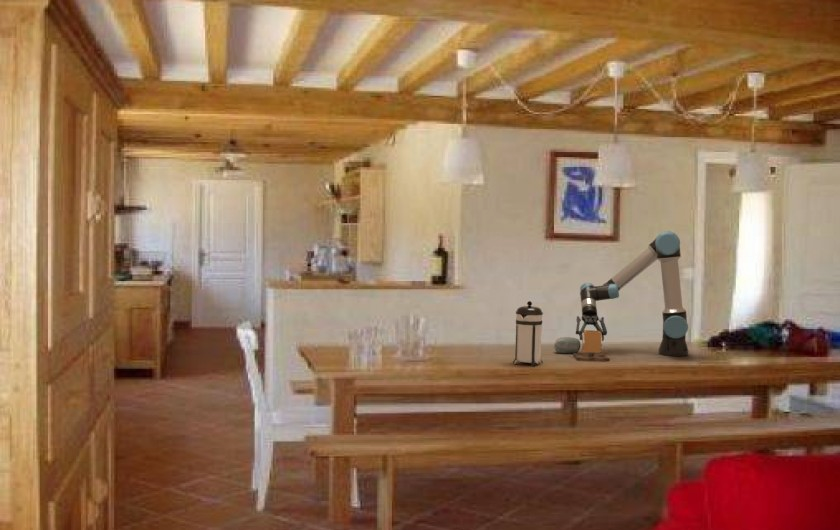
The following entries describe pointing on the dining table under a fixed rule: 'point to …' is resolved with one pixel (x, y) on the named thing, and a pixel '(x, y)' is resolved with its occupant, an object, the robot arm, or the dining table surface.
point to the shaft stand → (591, 357)
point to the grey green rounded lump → (567, 345)
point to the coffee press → (528, 334)
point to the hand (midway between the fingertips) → (592, 345)
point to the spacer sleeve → (592, 341)
